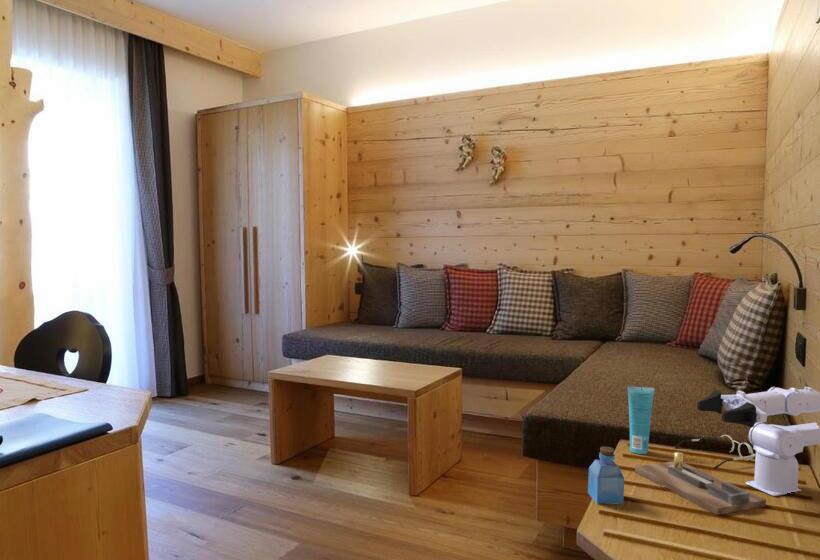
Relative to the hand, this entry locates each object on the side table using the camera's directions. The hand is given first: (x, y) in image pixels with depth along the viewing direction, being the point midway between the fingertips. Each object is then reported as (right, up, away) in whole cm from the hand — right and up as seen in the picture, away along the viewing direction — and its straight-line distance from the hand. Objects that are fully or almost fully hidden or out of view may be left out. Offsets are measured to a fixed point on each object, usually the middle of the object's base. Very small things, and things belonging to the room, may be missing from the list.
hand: (710, 411), depth 138 cm
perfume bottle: (-25, -21, -1) cm, 33 cm away
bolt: (-1, -19, +8) cm, 20 cm away
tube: (-5, -19, +32) cm, 37 cm away
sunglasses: (+16, -20, +29) cm, 39 cm away
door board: (0, -21, +6) cm, 21 cm away
